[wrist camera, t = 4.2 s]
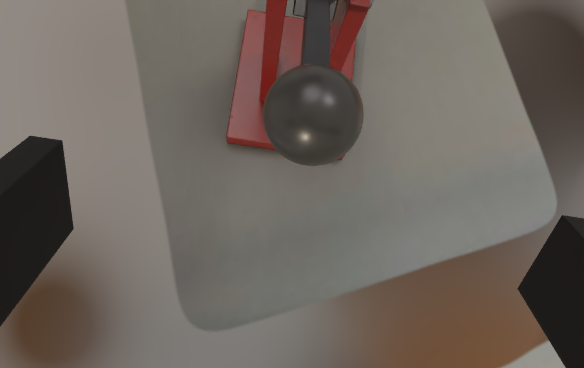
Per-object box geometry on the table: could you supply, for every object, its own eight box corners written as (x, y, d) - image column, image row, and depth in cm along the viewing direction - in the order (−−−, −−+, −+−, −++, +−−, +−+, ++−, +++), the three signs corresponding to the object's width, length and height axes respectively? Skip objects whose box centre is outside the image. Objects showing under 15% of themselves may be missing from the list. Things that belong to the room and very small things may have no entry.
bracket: (341, 160, 33) (406, 75, 20) (226, 142, 32) (213, 43, 19) (353, 37, 36) (417, -111, 22) (248, 18, 35) (249, -145, 22)
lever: (350, 192, 15) (380, 116, 13) (252, 178, 15) (262, 97, 12) (342, 11, 25) (358, -55, 22) (282, 0, 25) (291, -68, 22)
